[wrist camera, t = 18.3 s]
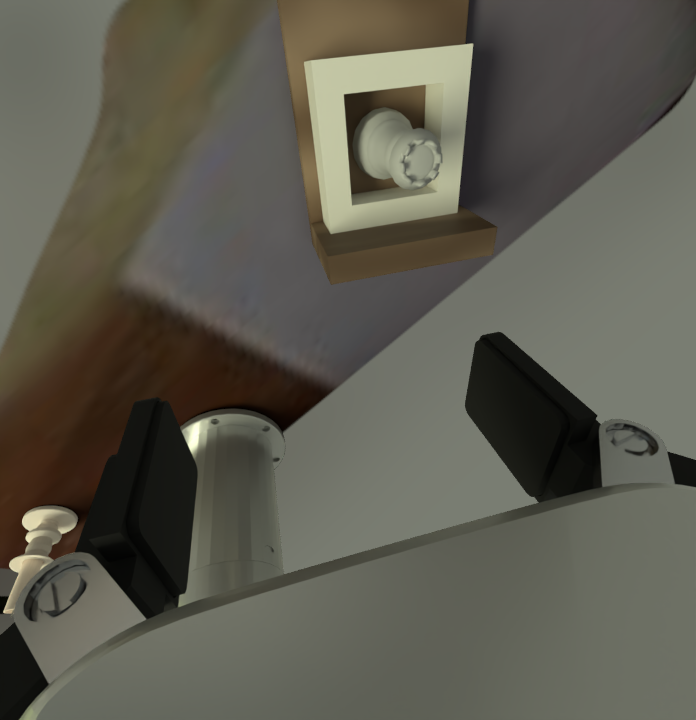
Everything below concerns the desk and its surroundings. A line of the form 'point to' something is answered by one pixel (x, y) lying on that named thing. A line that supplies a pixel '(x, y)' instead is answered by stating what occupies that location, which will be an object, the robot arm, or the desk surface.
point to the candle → (39, 544)
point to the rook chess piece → (396, 149)
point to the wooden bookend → (352, 38)
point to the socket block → (442, 117)
